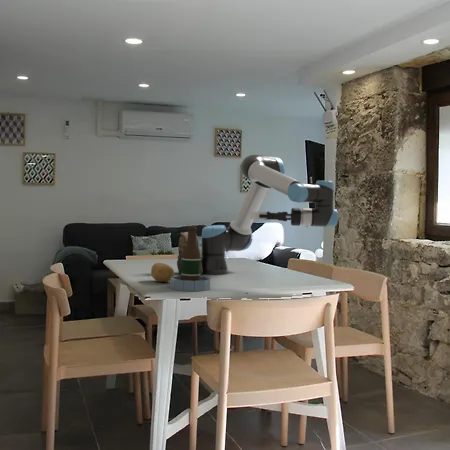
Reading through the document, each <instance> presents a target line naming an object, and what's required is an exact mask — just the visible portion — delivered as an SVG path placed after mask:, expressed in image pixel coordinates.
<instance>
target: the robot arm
mask: <svg viewBox="0 0 450 450" xmlns="http://www.w3.org/2000/svg"><path fill="white" fill-rule="evenodd" d="M285 170H286V169H285V165H284V162H283V160H282V159H281V158H280V157H277V156H274V155H273V156H272V155H262V154H261V155H259V154H251V155H248V156H246V157H245V158H243V159H242V162H241V165H240V172H241V175H242V176H243V177H244V178H246V179H248V180H250V181H251V184H250V186H249V189H248V191H247V193H246V194H245V198H244V199H243V201H242V204H241V206H240V208H239V211H238V213H237V215H236V217H235V219H234V220H232V221H230V223H229V225H228V227H226V225H224V224H216V225H215V224H213V225H208V226H204V227H203V228H202V230H201V231H202V232H201V252H200V254H201V262H202V269H203V272H202V274H205V275H207V274H208V275H225V274H228V272H229V270H228V269H229V268H228V265H227V261H226V258H225V257H226V256H225V255H226V252H234V251H235V252H242V251H245V250H247V249H249V248H250V247H251V245H252V243H253V232H252V228H251V227H252V224H253V223H254V221H255V220H265V221H267V220H270V221H271V220H278V221H282V222H288V221H290V225H291V226H296V227H299V226H302V227H303V226H305V227H306V228H309V227H324V228H329V227H331V228H332V227H336V226H337V225H338V221H339V212H338V209H335V208H334V194H335V190H334V187H335V186H334V181H332V180H316V182H315V184H311V183H310V184H309V183H308V184H307V183H304V182H301V181H299V180H298V179H295V178H293V177H291V176H288V175H286V174H285V172H286V171H285ZM270 189H273V190H275V191H277V192H279V193H282V194H283V195H286V196H287V198H289V200H290V201H291V202H293V203H295V202H296V203H298V204H299V203H314V208H311V207H310V208H309V207H302V208H300V207H292V208H291V211H290V213H288V211H277V212H271V211H267V212H265V211H260V207H261V206H262V204H263V201H264V200H265V197H266V196H267V193H268V191H269V190H270Z"/></svg>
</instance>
